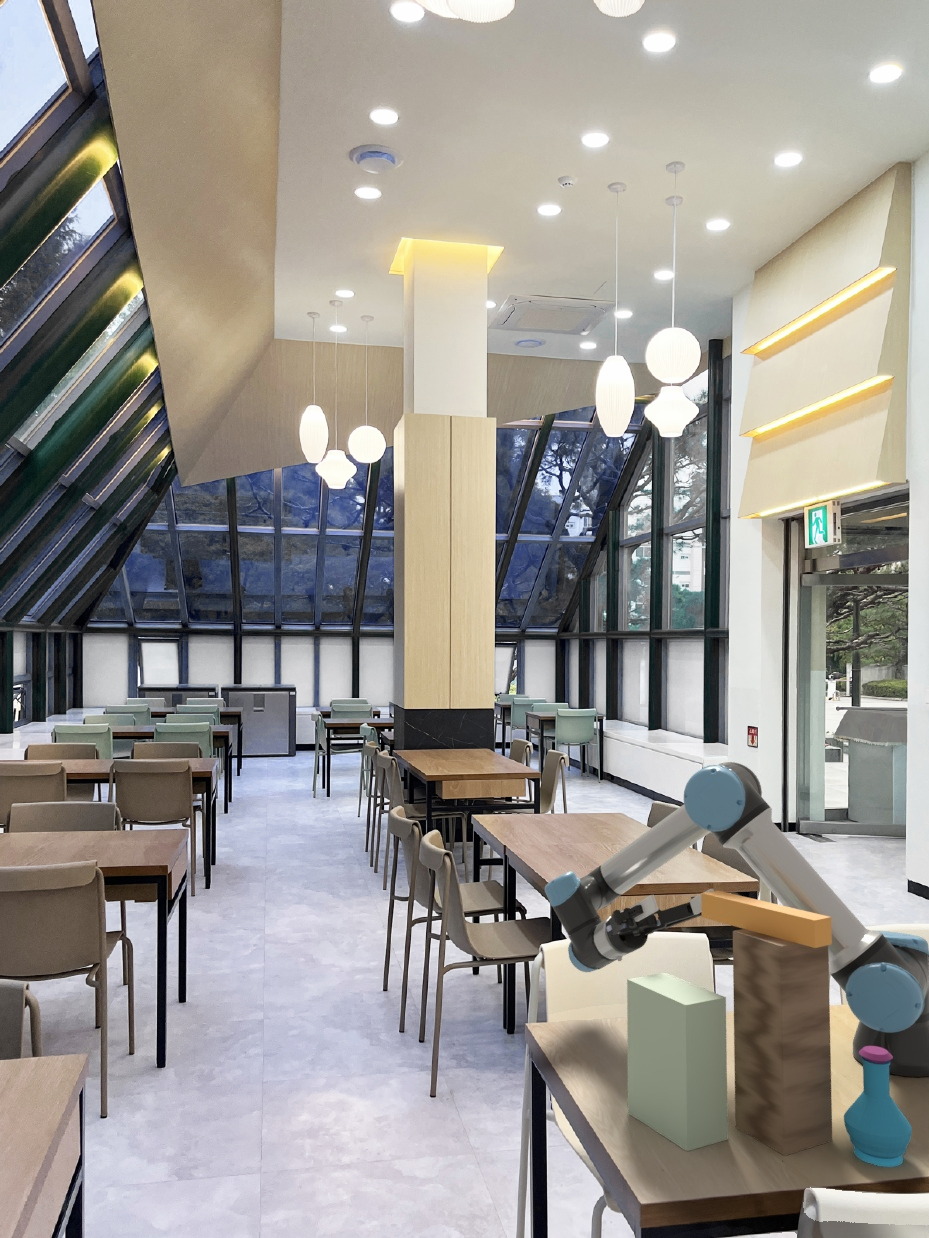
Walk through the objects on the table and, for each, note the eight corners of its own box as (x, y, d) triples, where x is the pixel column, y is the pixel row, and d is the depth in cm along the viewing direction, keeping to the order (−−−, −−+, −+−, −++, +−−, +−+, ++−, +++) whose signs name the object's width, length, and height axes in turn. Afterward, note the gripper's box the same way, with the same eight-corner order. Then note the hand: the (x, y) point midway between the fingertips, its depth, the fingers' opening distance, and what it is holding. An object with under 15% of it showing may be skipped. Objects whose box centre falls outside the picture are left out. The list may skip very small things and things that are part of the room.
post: (735, 1126, 145) (732, 930, 148) (781, 1113, 150) (778, 923, 152) (784, 1155, 136) (781, 946, 139) (832, 1140, 141) (828, 938, 143)
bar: (701, 917, 156) (701, 892, 157) (717, 914, 158) (717, 890, 159) (815, 947, 138) (814, 920, 138) (831, 943, 140) (831, 916, 141)
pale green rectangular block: (627, 1112, 150) (627, 979, 151) (666, 1102, 154) (665, 972, 155) (687, 1151, 138) (685, 1005, 139) (727, 1139, 141) (725, 997, 143)
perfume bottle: (912, 1148, 139) (909, 1044, 140) (913, 1177, 131) (910, 1066, 132) (845, 1135, 143) (843, 1034, 144) (842, 1162, 135) (840, 1055, 136)
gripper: (677, 946, 185) (744, 913, 170) (573, 961, 174) (635, 927, 158) (665, 909, 189) (730, 873, 174) (562, 920, 178) (622, 883, 162)
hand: (685, 899), depth 166 cm, fingers open, 13 cm apart
